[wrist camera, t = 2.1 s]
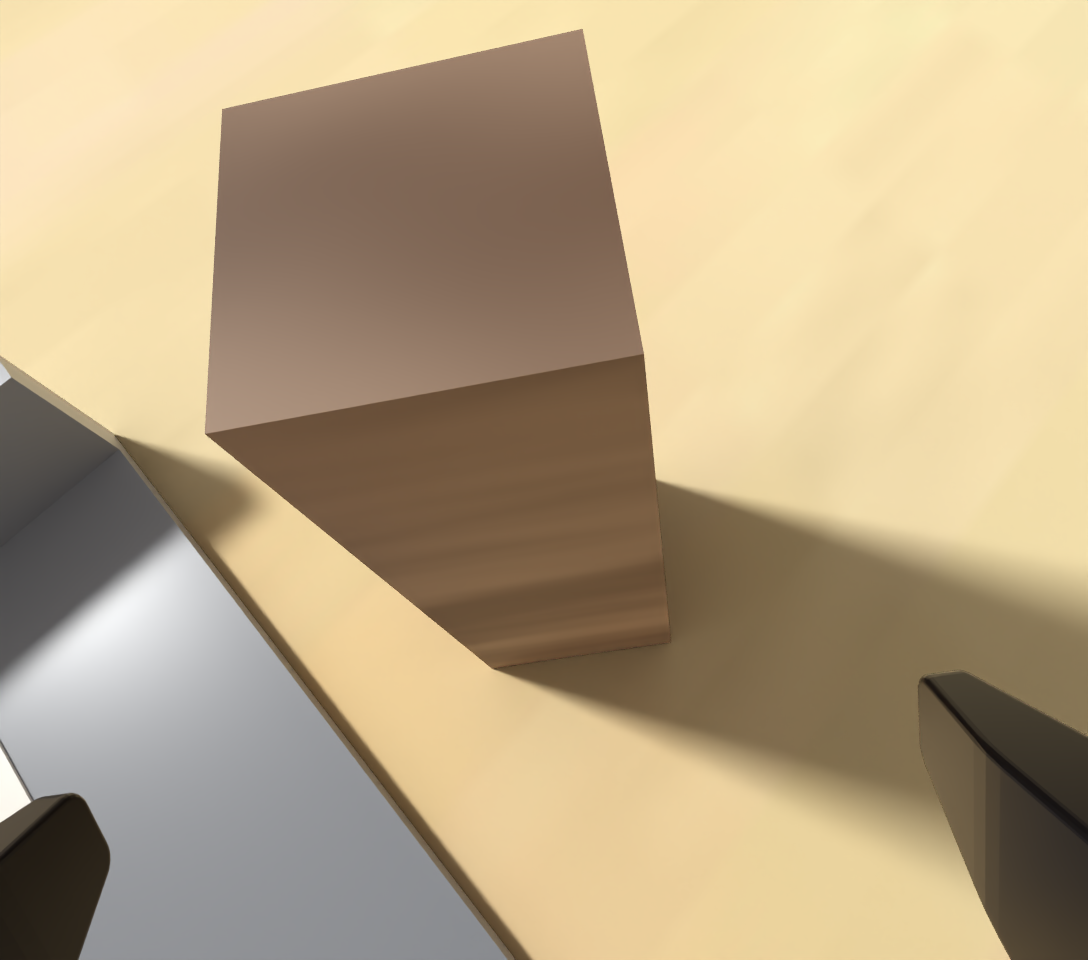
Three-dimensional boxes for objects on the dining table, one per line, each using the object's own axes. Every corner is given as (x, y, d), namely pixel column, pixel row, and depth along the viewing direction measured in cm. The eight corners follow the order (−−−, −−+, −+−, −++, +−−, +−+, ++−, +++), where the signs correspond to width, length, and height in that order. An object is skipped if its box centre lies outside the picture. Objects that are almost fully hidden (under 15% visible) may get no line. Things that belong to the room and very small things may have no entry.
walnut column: (670, 641, 21) (643, 353, 8) (492, 668, 22) (205, 433, 9) (641, 475, 23) (582, 28, 10) (477, 503, 23) (222, 108, 11)
